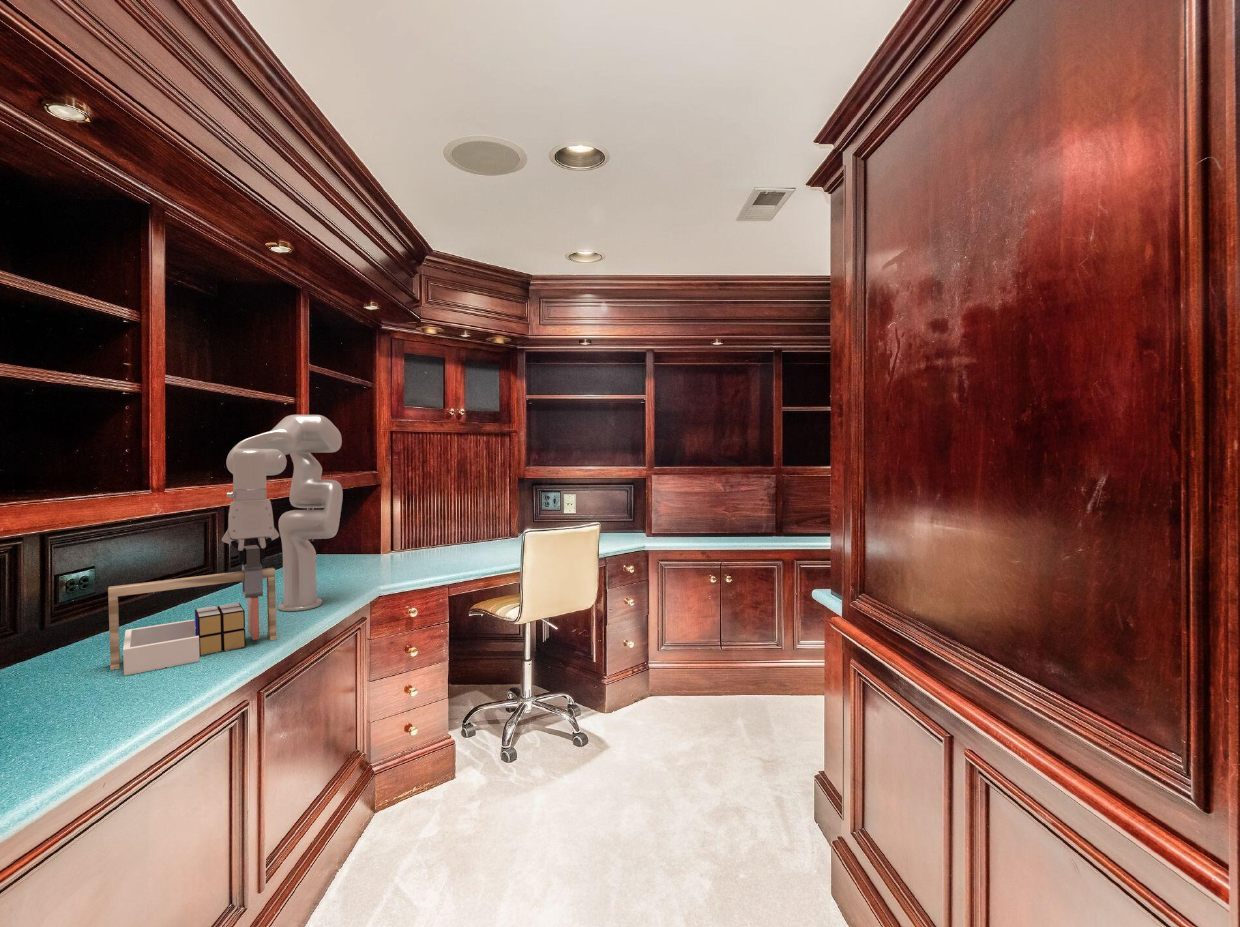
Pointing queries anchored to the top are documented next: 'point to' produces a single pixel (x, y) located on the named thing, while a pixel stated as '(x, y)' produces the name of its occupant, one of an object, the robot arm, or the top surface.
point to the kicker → (252, 588)
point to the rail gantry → (178, 584)
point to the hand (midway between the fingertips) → (251, 562)
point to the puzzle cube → (220, 628)
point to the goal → (160, 647)
